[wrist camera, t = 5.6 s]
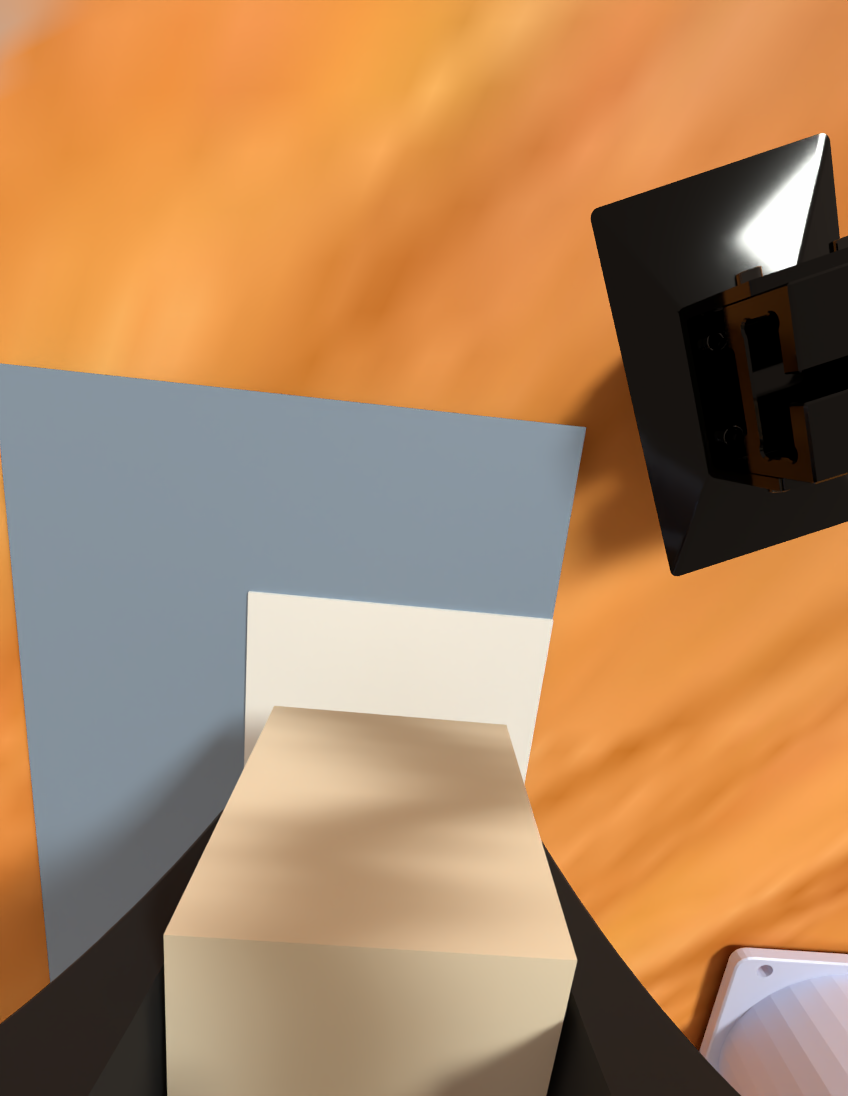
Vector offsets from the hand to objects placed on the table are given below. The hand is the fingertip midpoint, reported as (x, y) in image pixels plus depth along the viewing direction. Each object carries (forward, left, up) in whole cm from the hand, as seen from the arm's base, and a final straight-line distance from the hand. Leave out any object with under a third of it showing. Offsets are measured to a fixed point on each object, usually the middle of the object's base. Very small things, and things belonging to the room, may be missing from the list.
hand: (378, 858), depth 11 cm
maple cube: (0, 0, -1) cm, 1 cm away
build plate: (-8, -11, -6) cm, 14 cm away
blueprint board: (+3, +6, -5) cm, 8 cm away
